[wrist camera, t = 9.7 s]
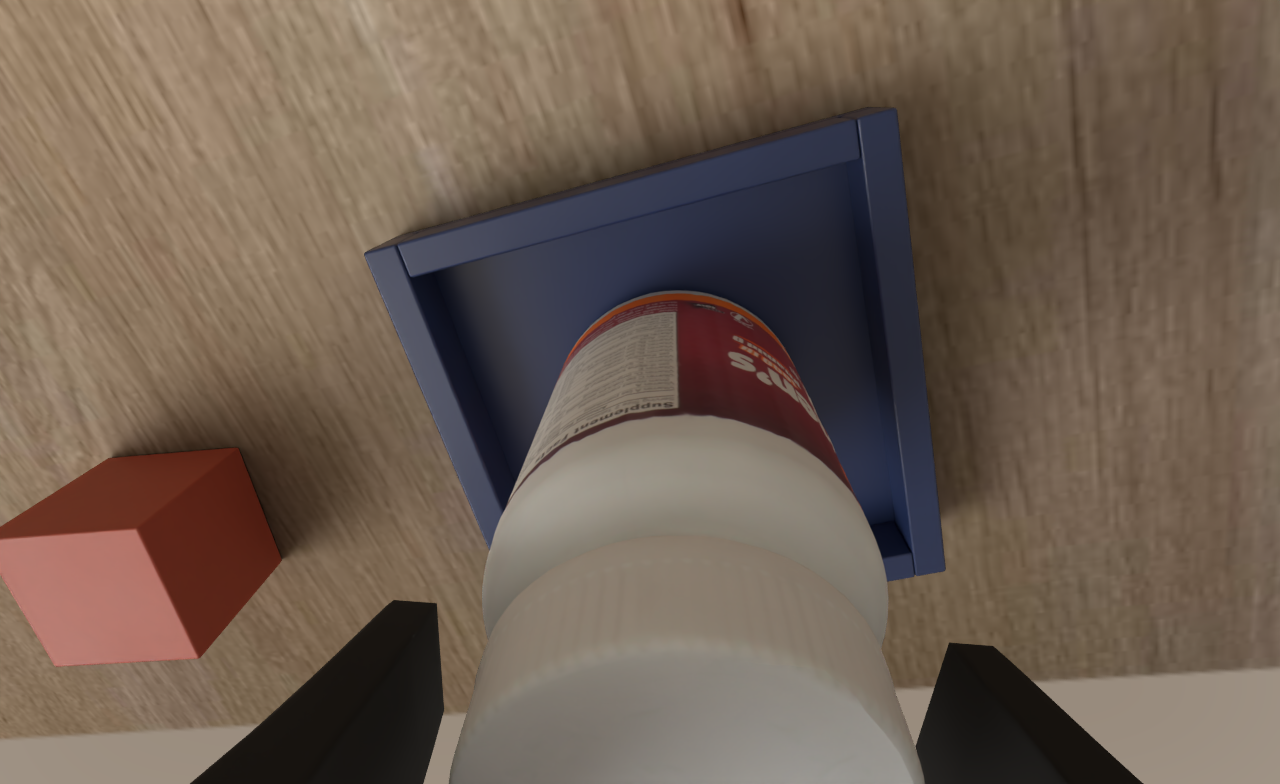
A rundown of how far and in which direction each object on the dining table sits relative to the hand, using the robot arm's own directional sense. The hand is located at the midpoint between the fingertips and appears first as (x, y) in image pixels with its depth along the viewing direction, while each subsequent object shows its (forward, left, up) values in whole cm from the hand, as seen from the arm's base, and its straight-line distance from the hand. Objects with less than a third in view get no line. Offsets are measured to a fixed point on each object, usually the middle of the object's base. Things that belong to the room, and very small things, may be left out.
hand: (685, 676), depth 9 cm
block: (-5, +14, -9) cm, 17 cm away
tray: (0, 0, -9) cm, 9 cm away
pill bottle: (0, 0, -9) cm, 9 cm away
